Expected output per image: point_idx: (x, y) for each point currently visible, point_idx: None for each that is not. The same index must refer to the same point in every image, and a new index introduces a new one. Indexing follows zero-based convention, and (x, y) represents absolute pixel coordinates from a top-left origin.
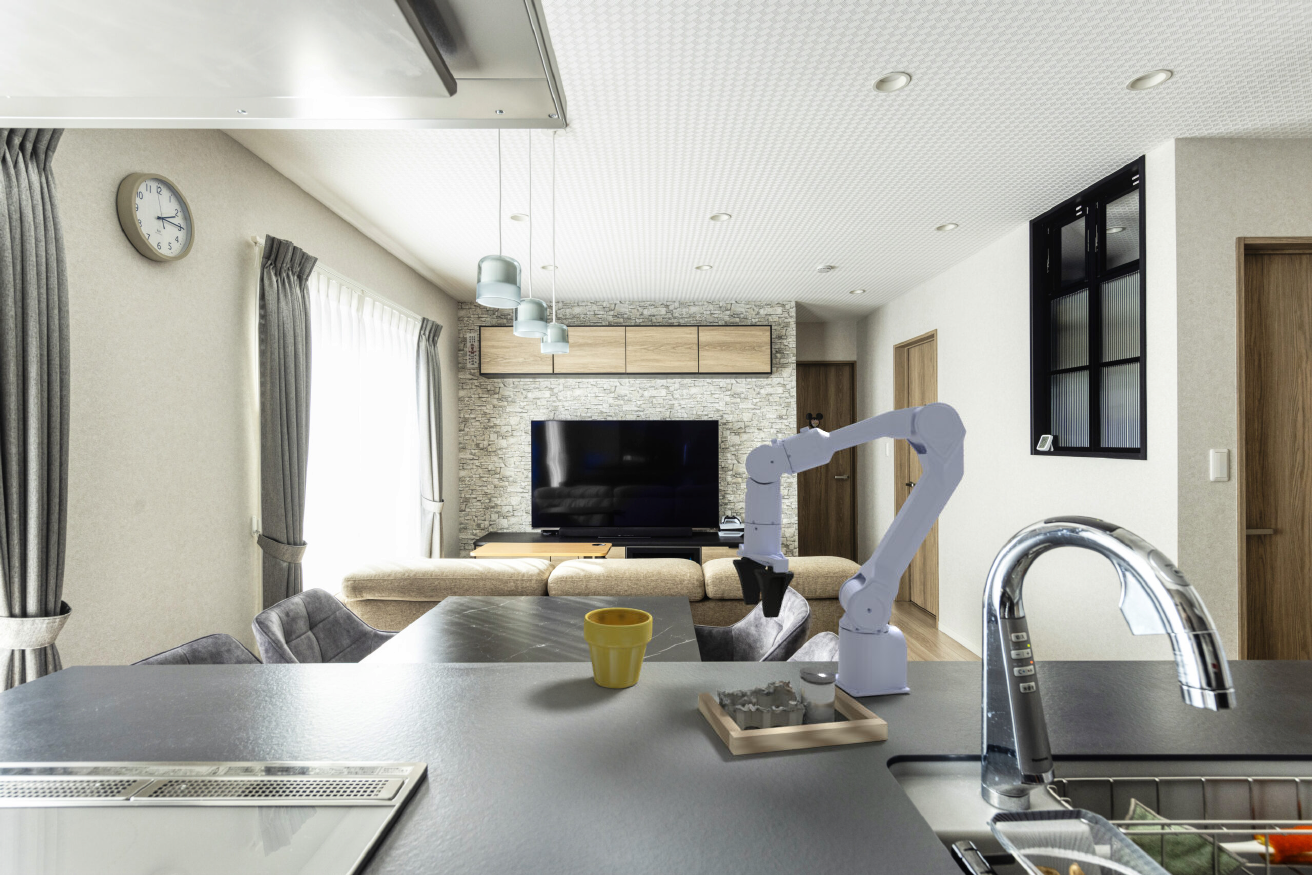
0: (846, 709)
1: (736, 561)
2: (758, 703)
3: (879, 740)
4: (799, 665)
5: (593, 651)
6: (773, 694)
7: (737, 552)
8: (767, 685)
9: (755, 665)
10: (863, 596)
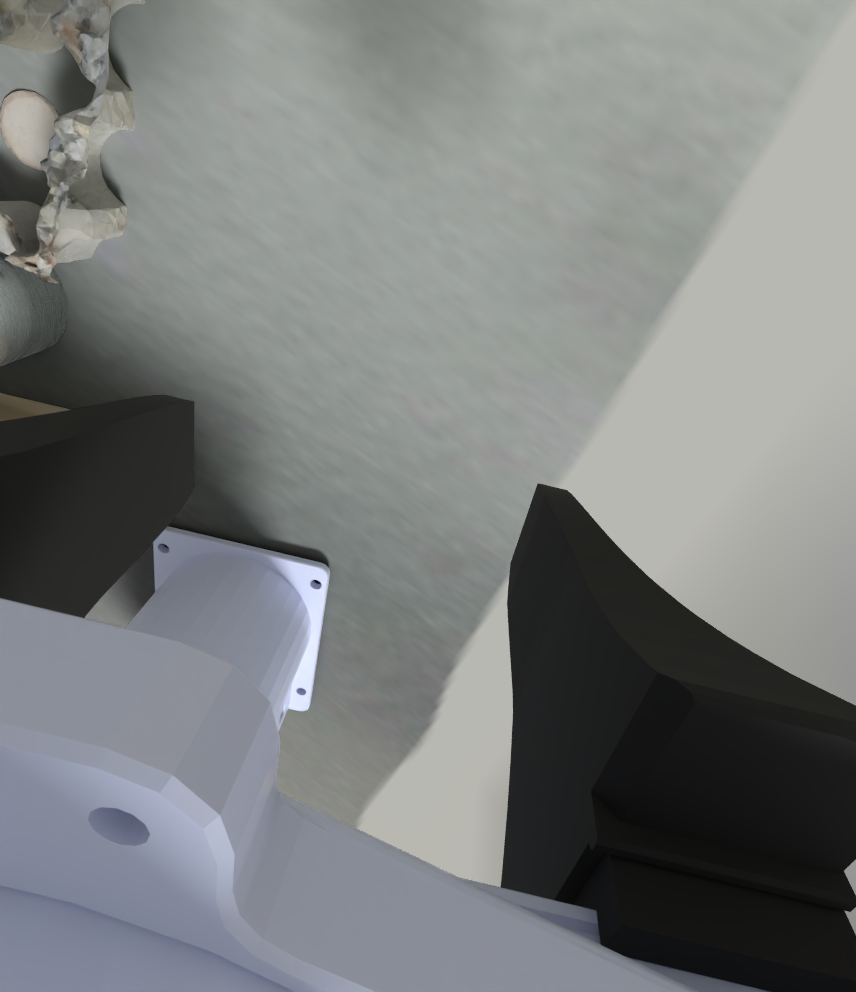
0: (5, 407)
1: (719, 724)
2: (108, 127)
3: None
4: (476, 572)
5: None
6: (72, 193)
7: (50, 689)
8: (69, 176)
9: (556, 429)
10: None
